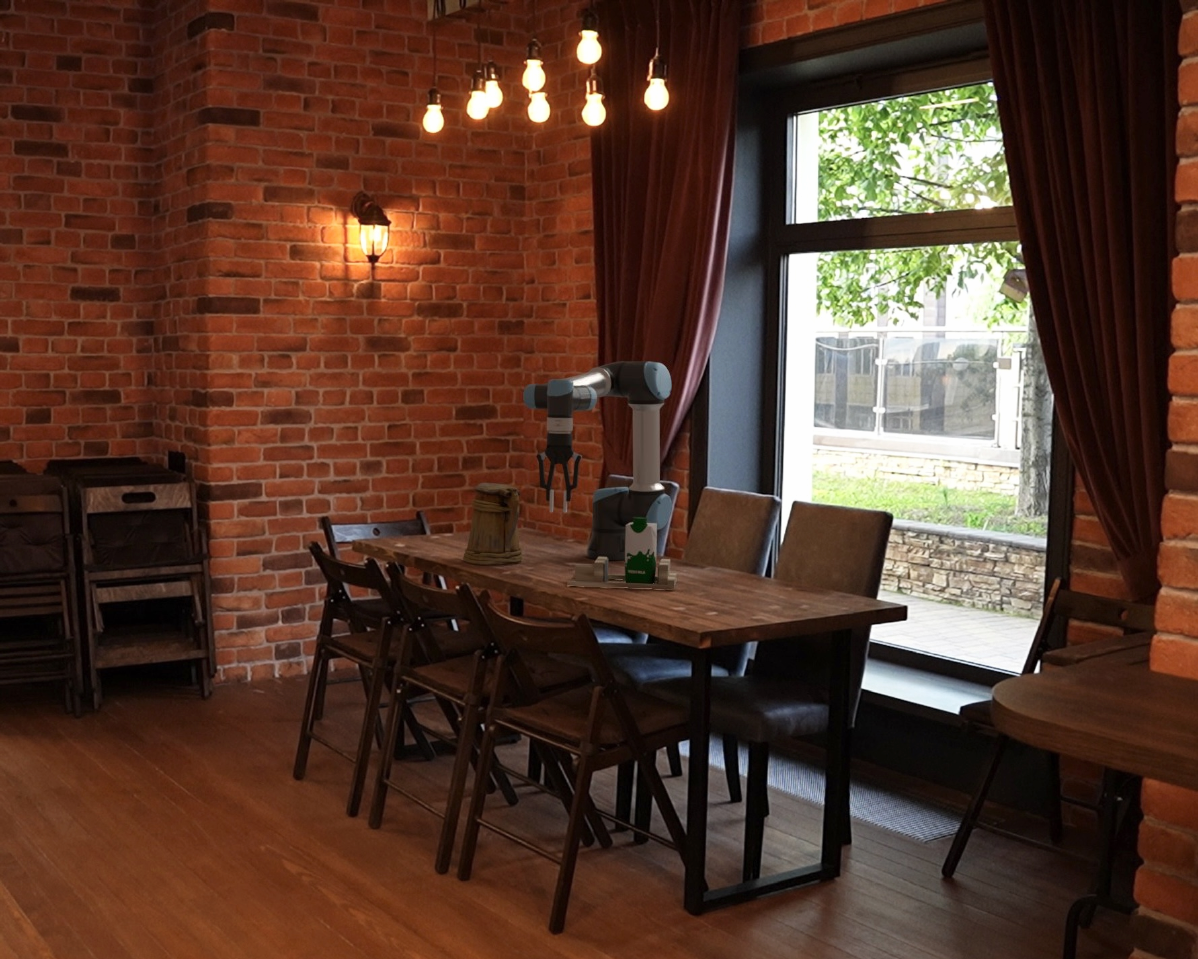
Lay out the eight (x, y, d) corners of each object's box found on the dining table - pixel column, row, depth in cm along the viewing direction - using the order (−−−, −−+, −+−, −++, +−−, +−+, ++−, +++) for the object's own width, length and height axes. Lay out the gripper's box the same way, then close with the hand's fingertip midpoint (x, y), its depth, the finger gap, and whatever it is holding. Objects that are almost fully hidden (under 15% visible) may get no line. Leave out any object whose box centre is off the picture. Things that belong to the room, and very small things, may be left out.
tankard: (498, 555, 450) (499, 480, 448) (542, 565, 433) (543, 486, 430) (452, 560, 438) (453, 482, 436) (496, 570, 421) (497, 489, 418)
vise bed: (573, 577, 409) (574, 554, 408) (676, 581, 406) (677, 558, 405) (567, 586, 393) (567, 562, 392) (674, 590, 390) (674, 566, 389)
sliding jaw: (578, 578, 407) (578, 555, 406) (608, 579, 406) (608, 556, 405) (573, 585, 395) (573, 561, 394) (604, 586, 394) (604, 563, 393)
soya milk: (621, 586, 396) (623, 517, 394) (629, 581, 404) (631, 514, 403) (651, 588, 393) (652, 519, 392) (658, 583, 402) (660, 516, 400)
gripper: (529, 432, 394) (528, 512, 397) (586, 433, 393) (584, 514, 395) (533, 430, 402) (532, 510, 404) (589, 432, 400) (587, 511, 402)
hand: (558, 512), depth 400 cm, fingers open, 3 cm apart
